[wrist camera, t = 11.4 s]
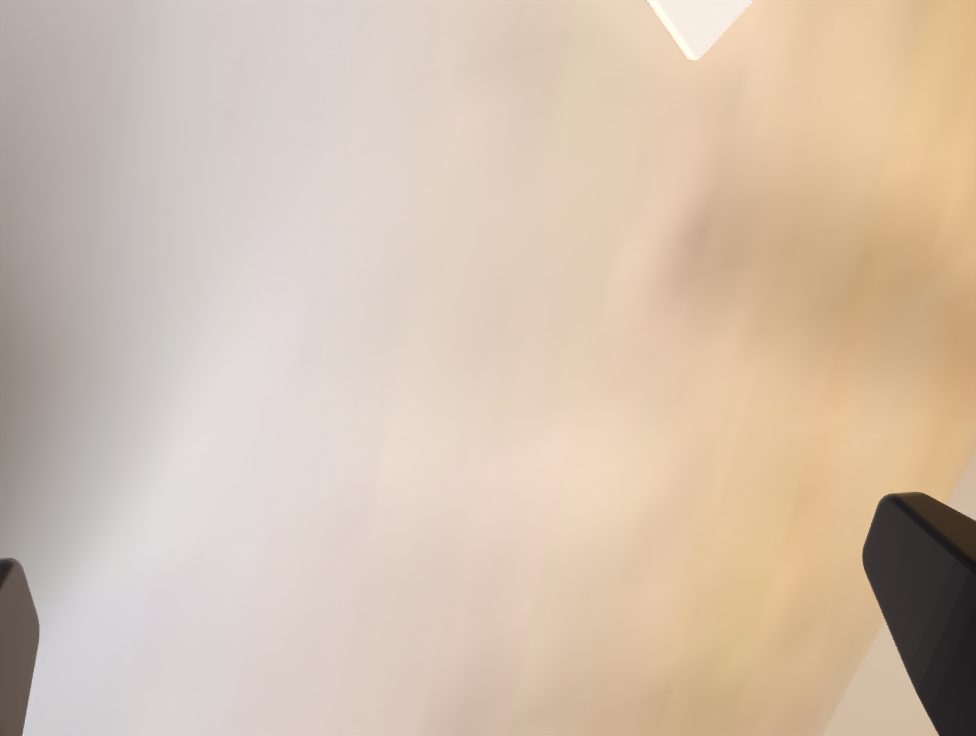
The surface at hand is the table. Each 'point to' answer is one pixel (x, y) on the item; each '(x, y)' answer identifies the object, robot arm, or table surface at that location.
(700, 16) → the tile
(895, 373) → the table surface
